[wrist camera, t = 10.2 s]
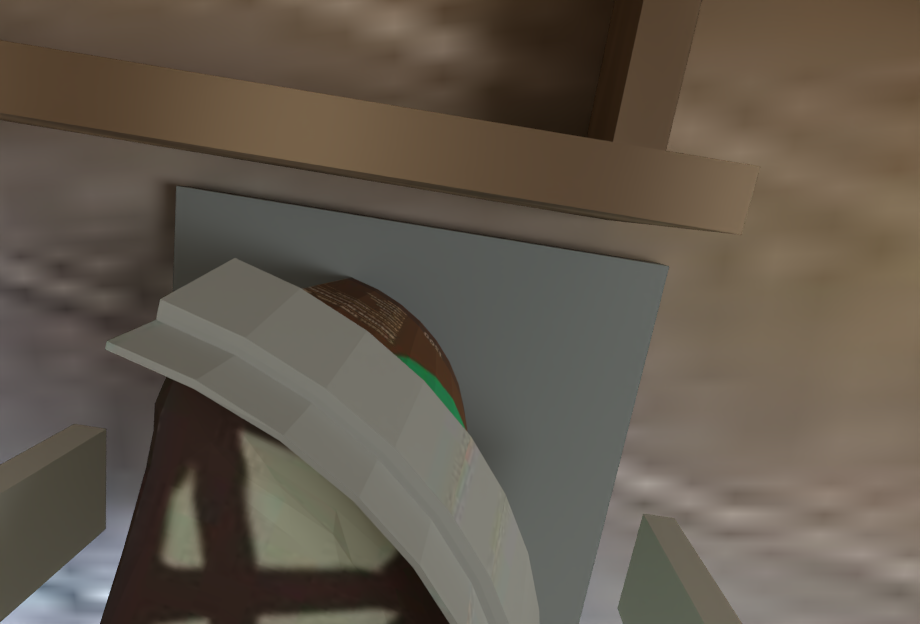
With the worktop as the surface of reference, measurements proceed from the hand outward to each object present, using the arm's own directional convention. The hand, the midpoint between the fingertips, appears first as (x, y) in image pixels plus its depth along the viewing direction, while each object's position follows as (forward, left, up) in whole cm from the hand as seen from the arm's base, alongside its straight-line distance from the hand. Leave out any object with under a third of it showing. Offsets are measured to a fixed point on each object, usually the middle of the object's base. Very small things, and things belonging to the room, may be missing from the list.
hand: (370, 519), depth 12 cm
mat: (0, 0, -4) cm, 4 cm away
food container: (0, 0, -4) cm, 4 cm away
